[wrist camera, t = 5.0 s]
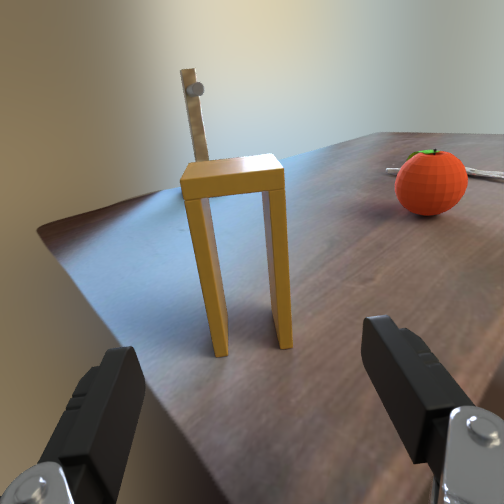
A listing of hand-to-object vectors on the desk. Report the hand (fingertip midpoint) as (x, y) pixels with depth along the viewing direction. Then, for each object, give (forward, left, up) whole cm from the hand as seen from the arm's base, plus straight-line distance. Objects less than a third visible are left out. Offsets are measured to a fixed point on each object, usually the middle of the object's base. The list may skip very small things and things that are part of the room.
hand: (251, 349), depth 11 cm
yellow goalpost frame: (-2, +8, -6) cm, 10 cm away
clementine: (+14, +29, -6) cm, 33 cm away
